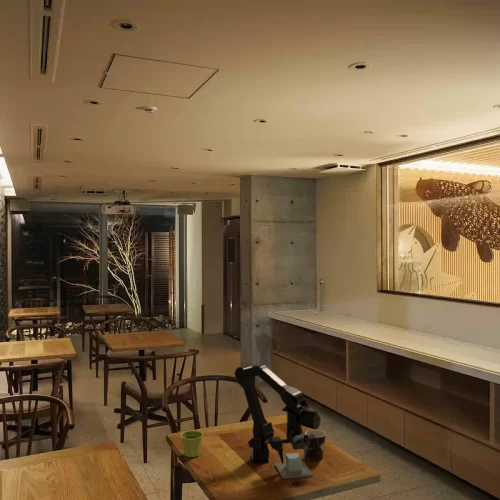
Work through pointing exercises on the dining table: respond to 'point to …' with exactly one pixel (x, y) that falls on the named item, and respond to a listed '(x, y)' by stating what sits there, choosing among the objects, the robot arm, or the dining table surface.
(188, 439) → the plant pot
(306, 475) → the coaster
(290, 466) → the cube
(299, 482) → the dining table surface
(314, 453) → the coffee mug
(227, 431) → the dining table surface
